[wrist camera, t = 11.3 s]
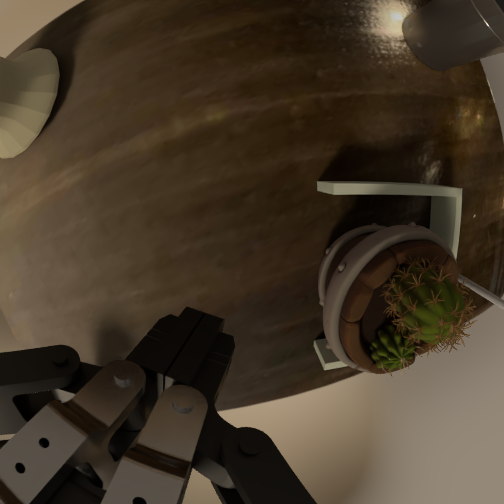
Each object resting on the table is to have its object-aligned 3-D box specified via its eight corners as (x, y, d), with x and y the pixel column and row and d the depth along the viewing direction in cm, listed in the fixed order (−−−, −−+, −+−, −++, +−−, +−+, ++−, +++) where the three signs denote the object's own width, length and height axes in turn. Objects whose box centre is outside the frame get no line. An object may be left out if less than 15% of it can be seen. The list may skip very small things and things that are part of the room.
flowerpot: (415, 293, 33) (512, 375, 14) (317, 341, 34) (375, 470, 14) (397, 191, 29) (539, 227, 10) (279, 239, 29) (353, 353, 10)
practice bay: (313, 346, 34) (371, 482, 14) (317, 181, 28) (466, 209, 8) (419, 325, 34) (503, 412, 14) (436, 184, 29) (572, 215, 9)
